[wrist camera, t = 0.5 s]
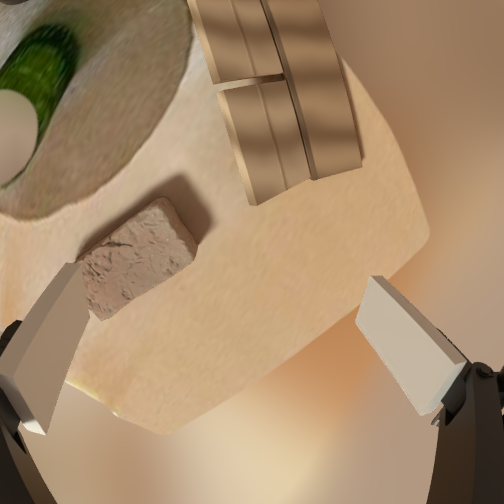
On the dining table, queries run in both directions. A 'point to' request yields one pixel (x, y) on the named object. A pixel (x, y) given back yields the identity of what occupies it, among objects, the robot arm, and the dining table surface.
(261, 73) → the plank
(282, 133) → the plank
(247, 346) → the dining table surface
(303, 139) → the floorboard
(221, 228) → the dining table surface
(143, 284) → the brick
